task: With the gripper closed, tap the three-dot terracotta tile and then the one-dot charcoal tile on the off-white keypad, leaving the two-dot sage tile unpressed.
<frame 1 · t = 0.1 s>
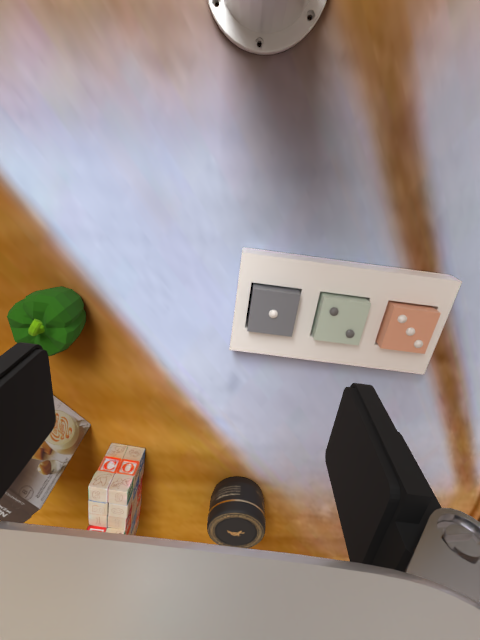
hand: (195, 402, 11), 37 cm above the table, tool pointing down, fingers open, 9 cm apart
tile two: (339, 318, 46), point 3 cm above the table, slide at 0.0 cm
jar: (237, 491, 65), on the table
tile one: (272, 309, 46), point 3 cm above the table, slide at 0.0 cm
coffee box: (61, 416, 59), on the table
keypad: (334, 309, 49), on the table
bell pepper: (69, 306, 50), on the table
stack of blocks: (126, 485, 65), on the table
tile three: (406, 327, 46), point 3 cm above the table, slide at 0.0 cm
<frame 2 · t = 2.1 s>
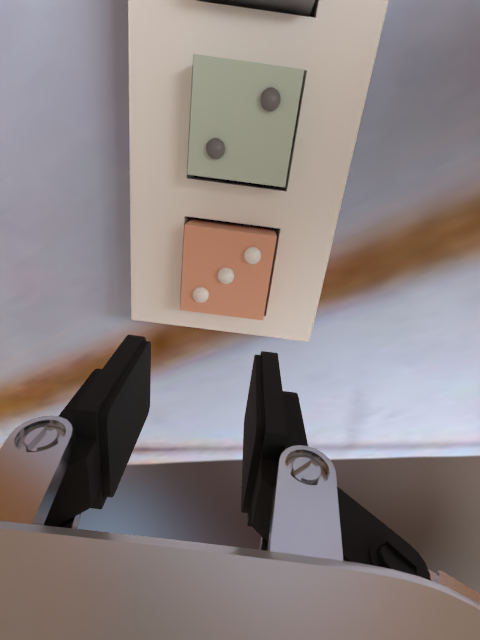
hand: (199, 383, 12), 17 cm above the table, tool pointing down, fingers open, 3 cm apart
tile two: (242, 127, 21), point 3 cm above the table, slide at 0.0 cm
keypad: (244, 131, 24), on the table
tile three: (227, 270, 25), point 3 cm above the table, slide at 0.0 cm
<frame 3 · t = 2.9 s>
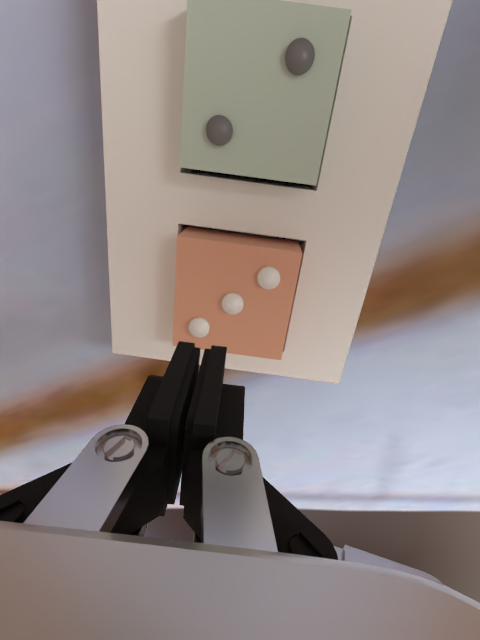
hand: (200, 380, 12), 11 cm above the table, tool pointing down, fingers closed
tile two: (258, 100, 15), point 3 cm above the table, slide at 0.0 cm
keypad: (258, 110, 18), on the table
tile three: (234, 294, 19), point 3 cm above the table, slide at 0.0 cm
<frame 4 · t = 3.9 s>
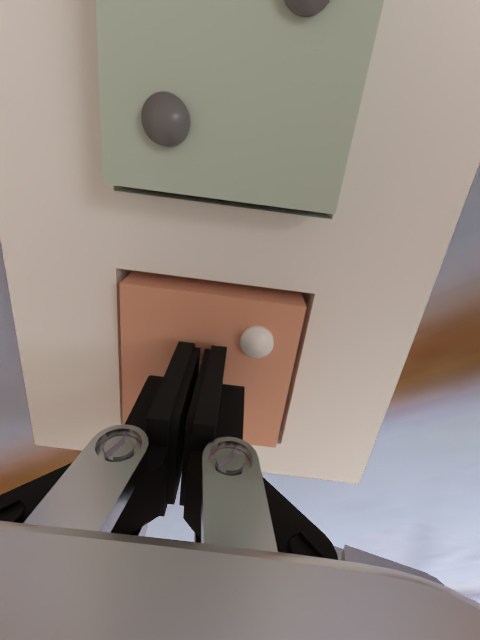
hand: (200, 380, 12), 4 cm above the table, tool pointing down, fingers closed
tile two: (235, 70, 9), point 3 cm above the table, slide at 0.0 cm
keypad: (240, 94, 12), on the table
tile three: (209, 356, 13), point 2 cm above the table, slide at 1.0 cm, touching gripper
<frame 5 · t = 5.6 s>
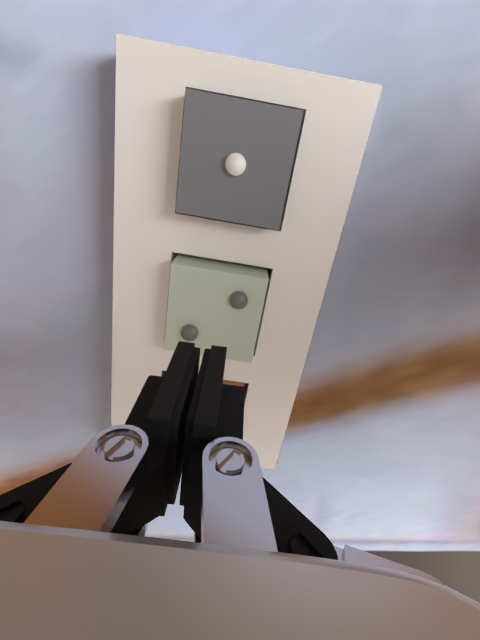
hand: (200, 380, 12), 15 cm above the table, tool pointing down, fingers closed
tile two: (215, 308, 23), point 3 cm above the table, slide at 0.0 cm
tile one: (236, 164, 20), point 3 cm above the table, slide at 0.0 cm
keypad: (219, 292, 26), on the table
tile three: (201, 405, 28), point 2 cm above the table, slide at 1.1 cm
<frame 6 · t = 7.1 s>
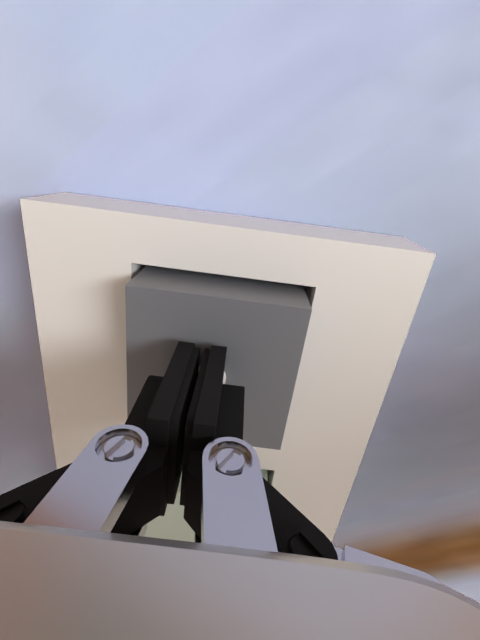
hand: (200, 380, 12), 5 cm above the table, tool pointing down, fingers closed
tile two: (198, 514, 17), point 3 cm above the table, slide at 0.0 cm
tile one: (214, 358, 13), point 3 cm above the table, slide at 0.0 cm, touching gripper
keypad: (206, 462, 20), on the table
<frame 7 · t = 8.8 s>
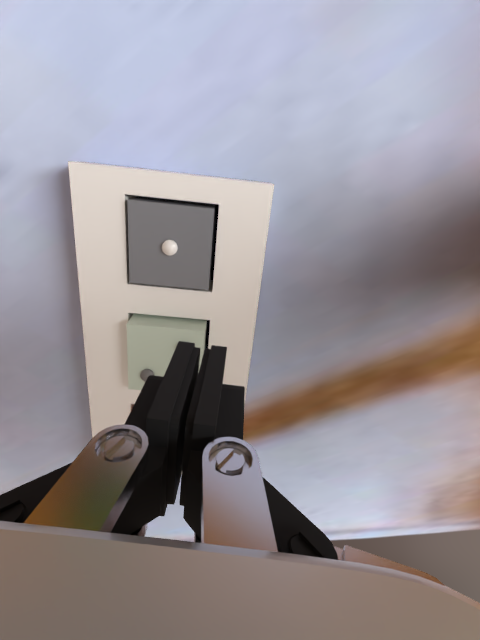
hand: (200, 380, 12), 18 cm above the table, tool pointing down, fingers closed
tile two: (167, 353, 29), point 3 cm above the table, slide at 0.0 cm
tile one: (172, 243, 26), point 2 cm above the table, slide at 1.1 cm
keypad: (174, 336, 32), on the table
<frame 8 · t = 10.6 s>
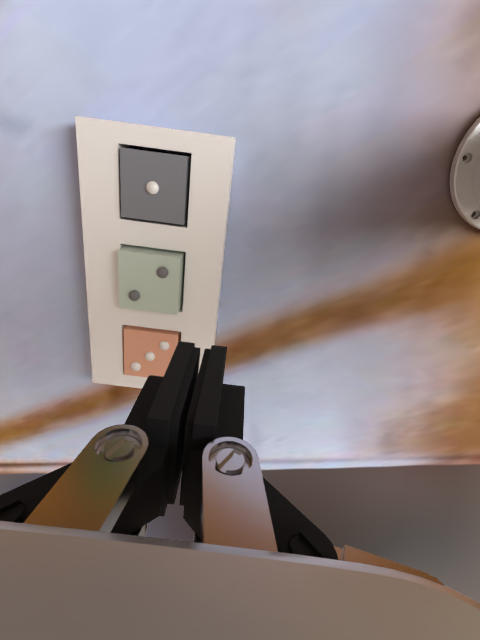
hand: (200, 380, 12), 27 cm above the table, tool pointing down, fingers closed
tile two: (151, 280, 36), point 3 cm above the table, slide at 0.0 cm
tile one: (156, 186, 33), point 2 cm above the table, slide at 1.1 cm
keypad: (159, 271, 39), on the table
tile three: (153, 350, 40), point 2 cm above the table, slide at 1.1 cm
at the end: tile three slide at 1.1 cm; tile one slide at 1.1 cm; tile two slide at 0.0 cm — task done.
